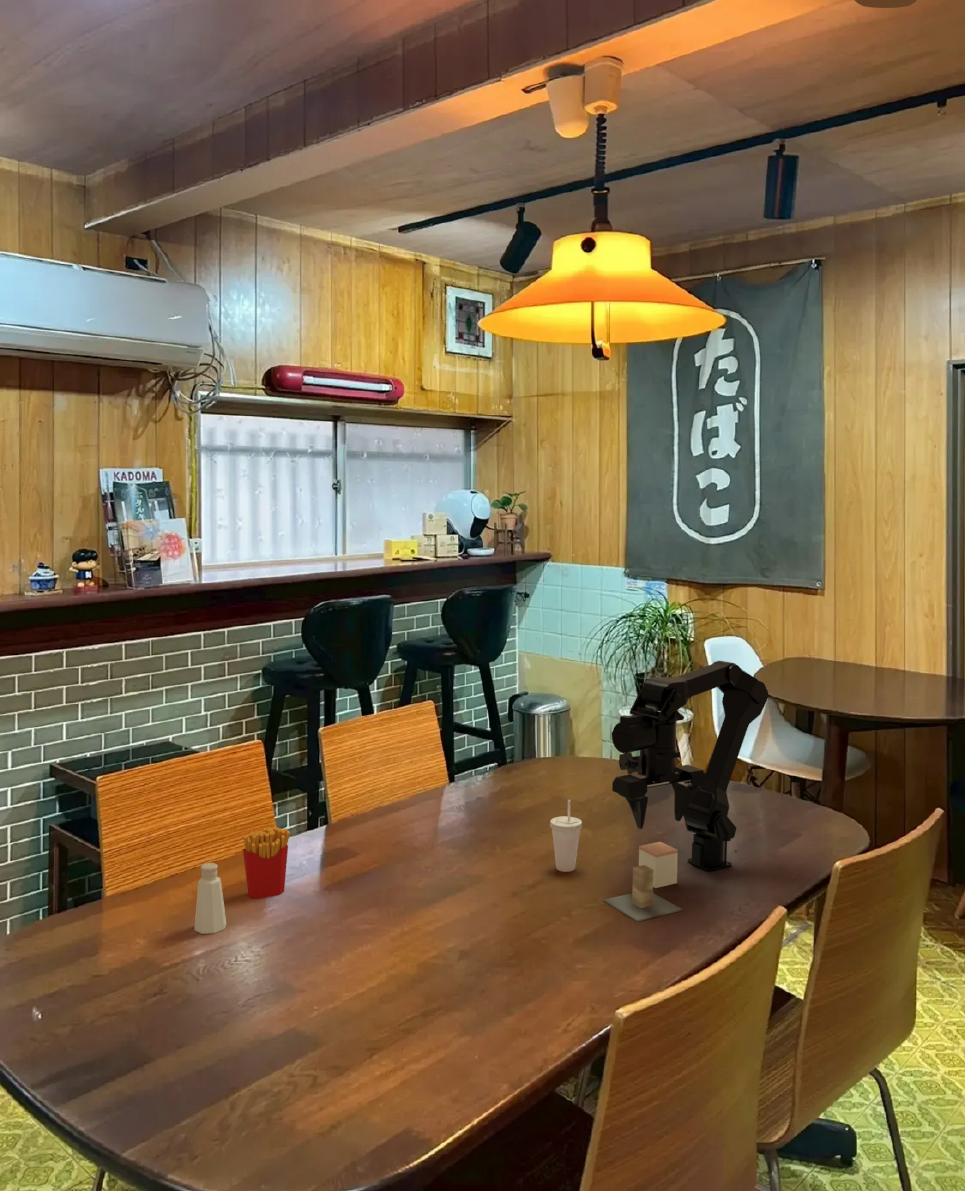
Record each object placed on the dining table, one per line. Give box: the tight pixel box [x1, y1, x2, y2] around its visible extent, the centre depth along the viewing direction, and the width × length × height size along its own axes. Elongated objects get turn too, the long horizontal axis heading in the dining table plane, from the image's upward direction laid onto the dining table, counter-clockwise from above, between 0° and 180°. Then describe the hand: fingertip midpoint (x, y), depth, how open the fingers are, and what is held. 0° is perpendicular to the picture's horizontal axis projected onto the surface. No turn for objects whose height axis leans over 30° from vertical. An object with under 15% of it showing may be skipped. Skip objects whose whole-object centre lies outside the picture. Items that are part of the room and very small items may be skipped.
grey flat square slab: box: [603, 865, 683, 923], centre depth 179 cm, size 10×10×7 cm
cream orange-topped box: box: [638, 841, 679, 889], centre depth 191 cm, size 5×5×7 cm
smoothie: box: [549, 799, 583, 873], centre depth 197 cm, size 6×6×14 cm
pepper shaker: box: [193, 862, 227, 935], centre depth 169 cm, size 5×5×11 cm
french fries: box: [242, 826, 291, 899], centre depth 184 cm, size 8×4×12 cm, turn 118°
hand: (659, 824), depth 190 cm, fingers open, 9 cm apart
